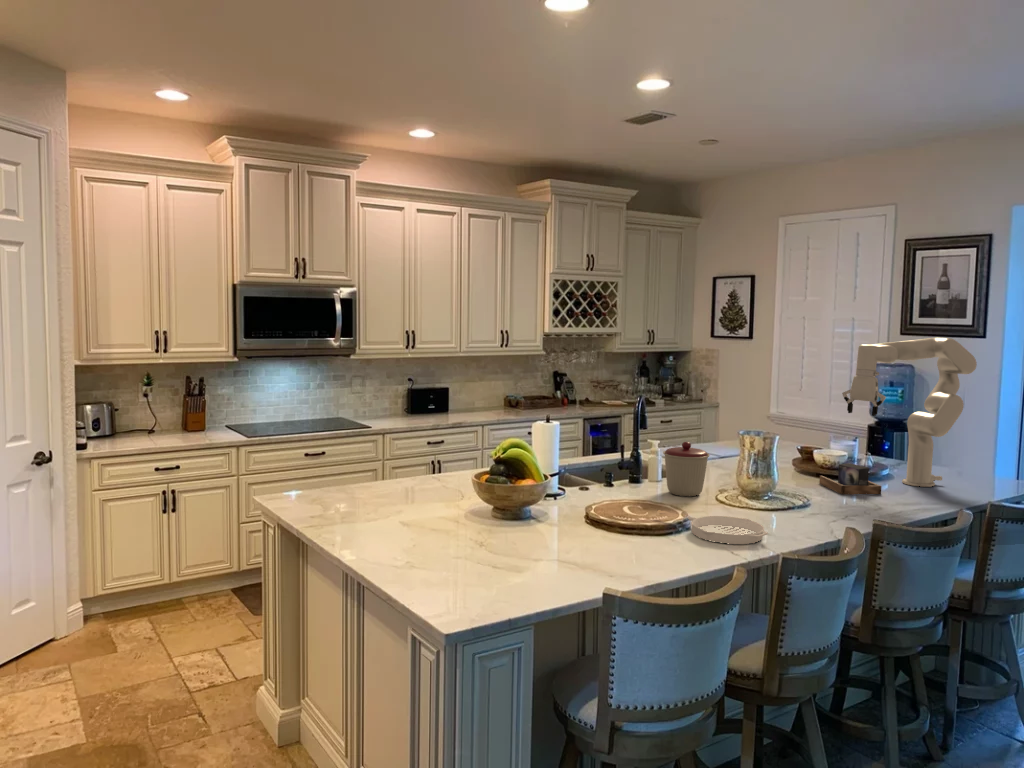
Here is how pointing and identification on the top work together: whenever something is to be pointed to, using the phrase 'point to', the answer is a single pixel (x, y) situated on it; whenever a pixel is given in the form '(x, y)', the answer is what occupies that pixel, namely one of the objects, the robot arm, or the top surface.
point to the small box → (853, 474)
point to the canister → (685, 469)
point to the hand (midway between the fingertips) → (861, 414)
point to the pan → (728, 522)
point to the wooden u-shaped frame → (850, 487)
